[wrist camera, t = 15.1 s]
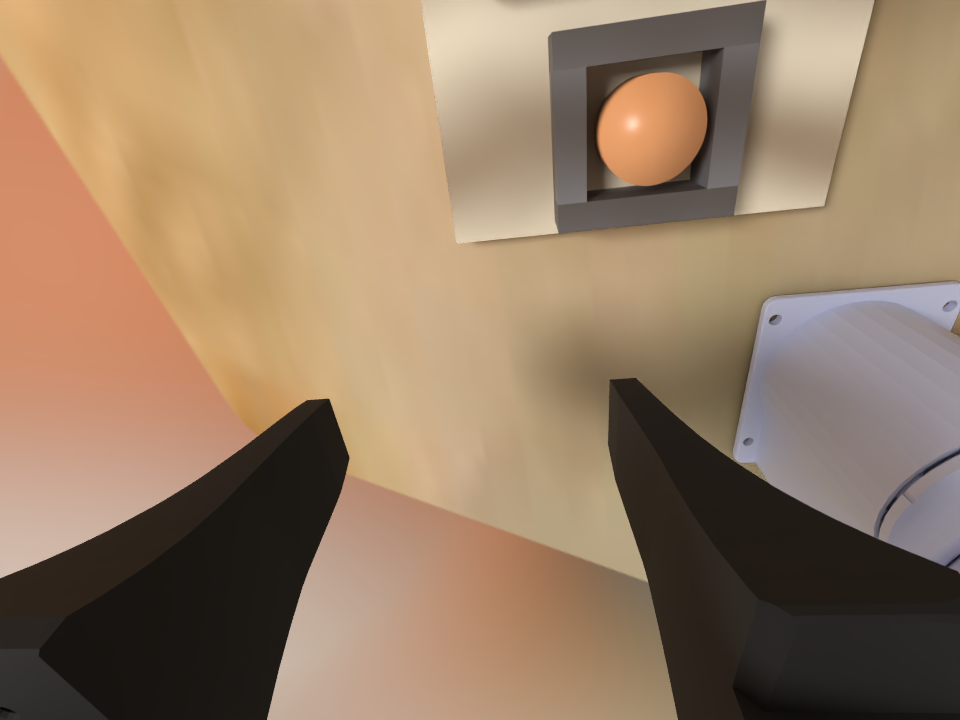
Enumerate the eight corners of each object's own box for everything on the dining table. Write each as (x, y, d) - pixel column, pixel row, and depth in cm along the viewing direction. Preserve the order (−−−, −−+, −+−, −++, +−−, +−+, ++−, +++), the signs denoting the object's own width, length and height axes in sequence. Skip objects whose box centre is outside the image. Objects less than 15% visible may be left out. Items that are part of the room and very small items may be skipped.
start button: (685, 172, 16) (701, 180, 15) (593, 182, 17) (601, 191, 16) (696, 66, 15) (714, 64, 14) (594, 80, 15) (602, 79, 14)
